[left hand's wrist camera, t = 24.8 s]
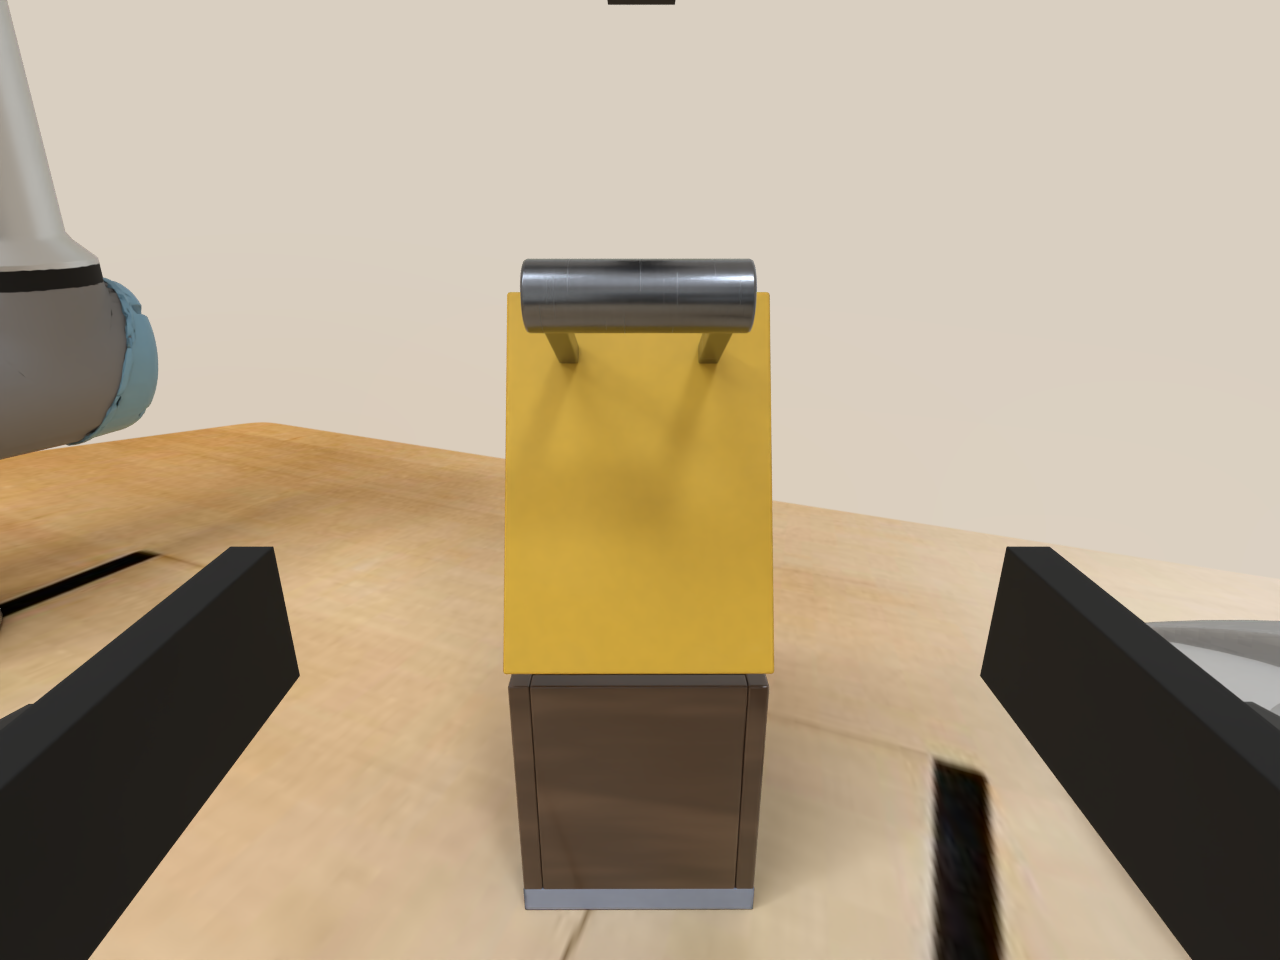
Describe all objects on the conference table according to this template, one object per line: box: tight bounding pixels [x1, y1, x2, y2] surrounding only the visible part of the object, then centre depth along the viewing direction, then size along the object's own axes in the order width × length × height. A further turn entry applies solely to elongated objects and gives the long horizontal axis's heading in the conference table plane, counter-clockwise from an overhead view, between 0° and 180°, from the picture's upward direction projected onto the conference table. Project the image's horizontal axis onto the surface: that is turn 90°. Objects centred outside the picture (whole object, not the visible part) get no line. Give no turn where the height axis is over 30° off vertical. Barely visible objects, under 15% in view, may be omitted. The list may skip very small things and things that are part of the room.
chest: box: [508, 674, 769, 909], centre depth 33 cm, size 13×9×11 cm
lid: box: [503, 259, 774, 674], centre depth 21 cm, size 13×9×8 cm
